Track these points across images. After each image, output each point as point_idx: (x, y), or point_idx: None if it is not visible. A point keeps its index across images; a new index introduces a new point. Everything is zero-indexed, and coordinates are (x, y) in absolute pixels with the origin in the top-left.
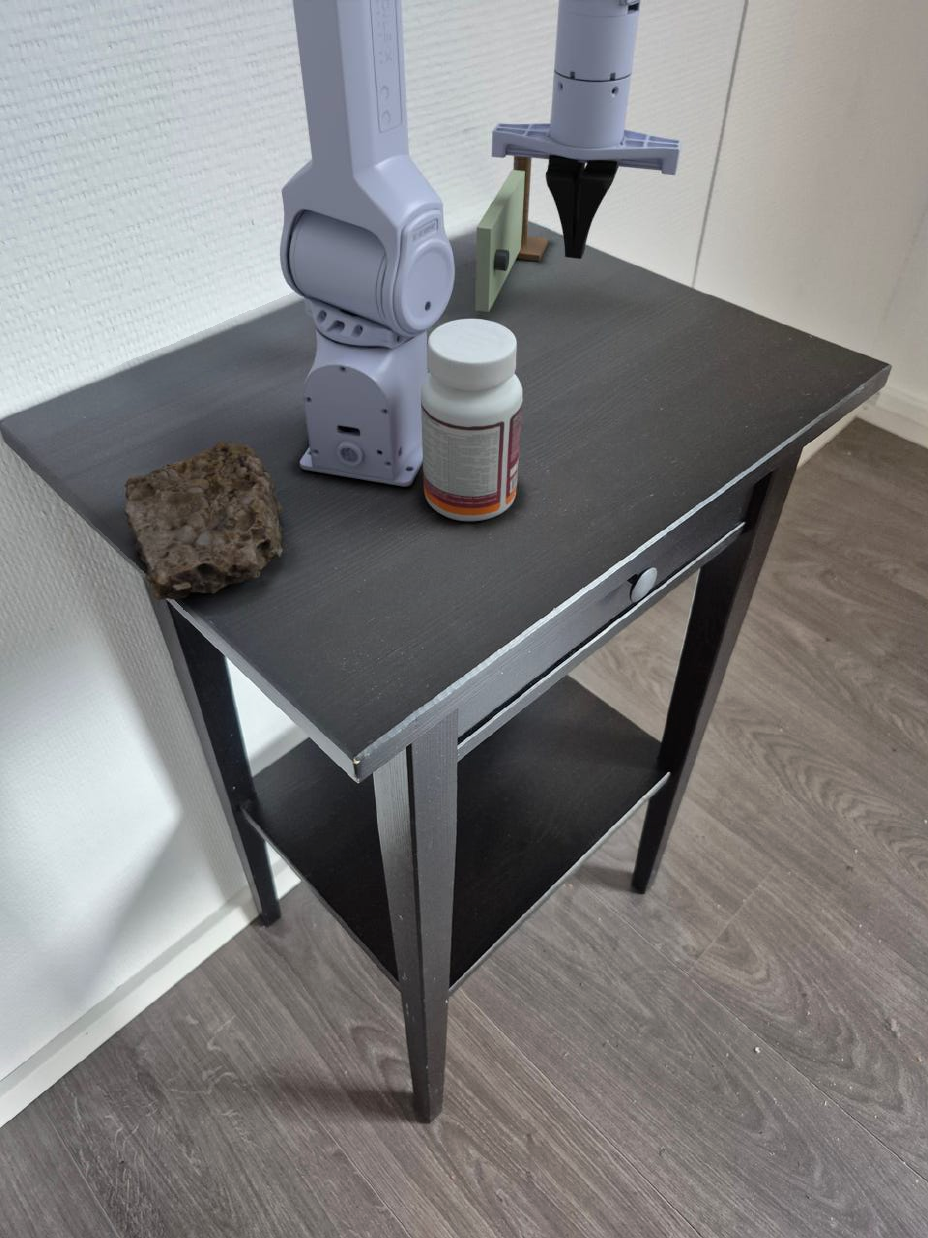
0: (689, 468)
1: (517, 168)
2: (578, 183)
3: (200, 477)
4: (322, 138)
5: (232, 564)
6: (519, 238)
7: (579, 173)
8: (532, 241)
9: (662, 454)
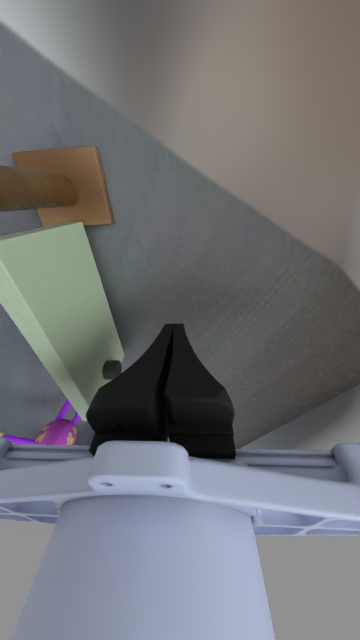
0: (263, 424)
1: None
2: (164, 416)
3: None
4: None
5: None
6: (77, 240)
7: (162, 434)
8: (79, 174)
9: (251, 421)
